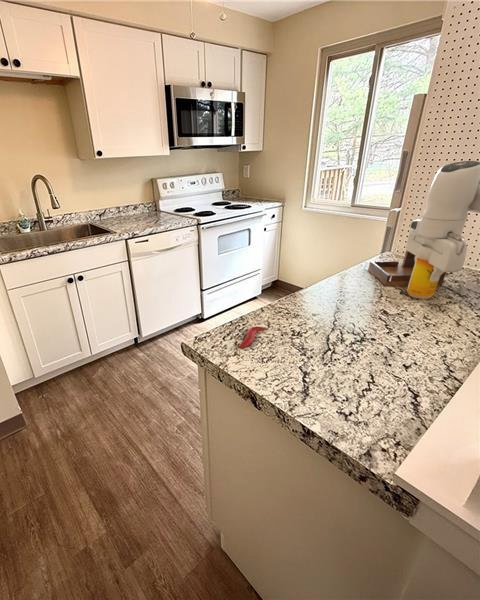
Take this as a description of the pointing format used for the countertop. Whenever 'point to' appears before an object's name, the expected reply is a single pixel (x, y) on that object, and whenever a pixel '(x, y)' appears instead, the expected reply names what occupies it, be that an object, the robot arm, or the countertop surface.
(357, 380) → the countertop surface
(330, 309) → the countertop surface
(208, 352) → the countertop surface
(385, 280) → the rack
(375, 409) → the countertop surface
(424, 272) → the beer can
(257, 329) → the cayenne pepper
